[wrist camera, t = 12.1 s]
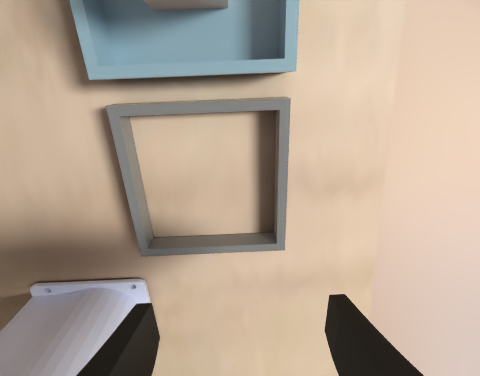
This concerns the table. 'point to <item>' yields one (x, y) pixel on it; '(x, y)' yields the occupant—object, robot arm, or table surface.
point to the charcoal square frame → (135, 188)
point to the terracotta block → (186, 4)
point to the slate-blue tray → (186, 38)
